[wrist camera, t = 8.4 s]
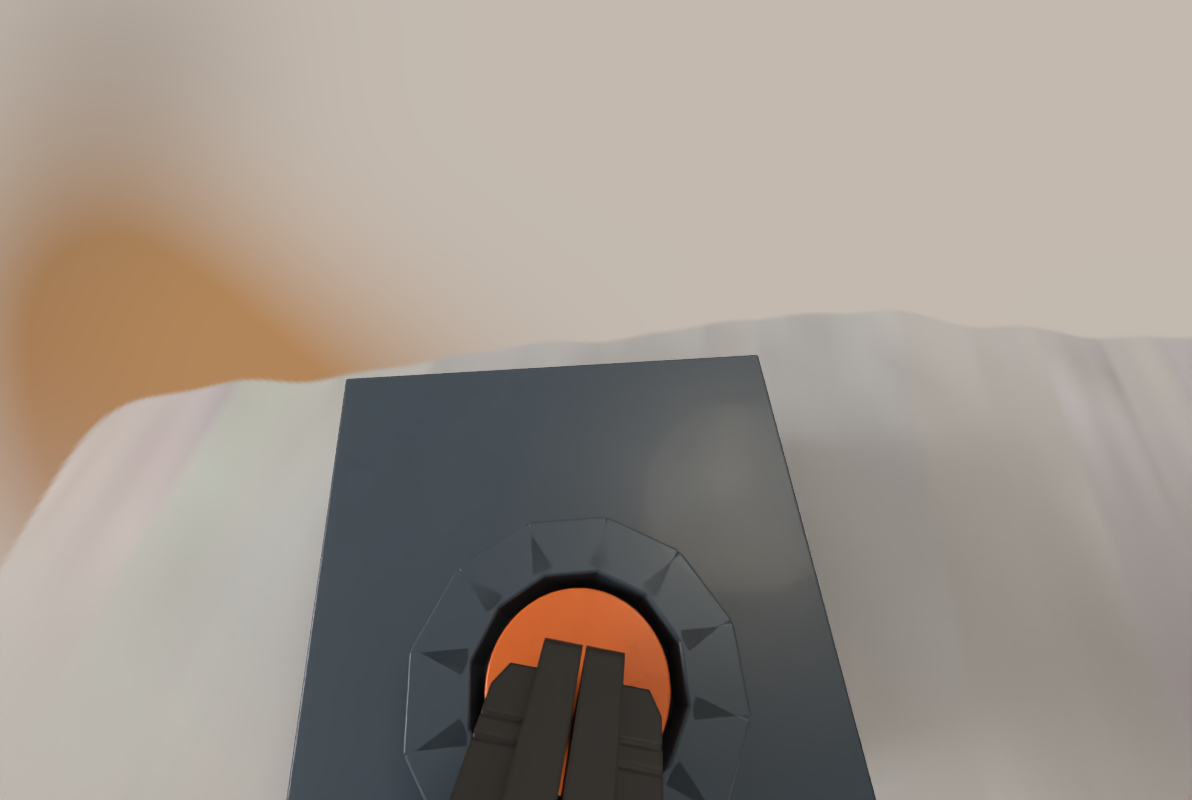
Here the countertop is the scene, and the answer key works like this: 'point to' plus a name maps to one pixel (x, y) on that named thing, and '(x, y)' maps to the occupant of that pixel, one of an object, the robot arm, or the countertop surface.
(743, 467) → the grey button base
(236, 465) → the countertop surface
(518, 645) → the button
